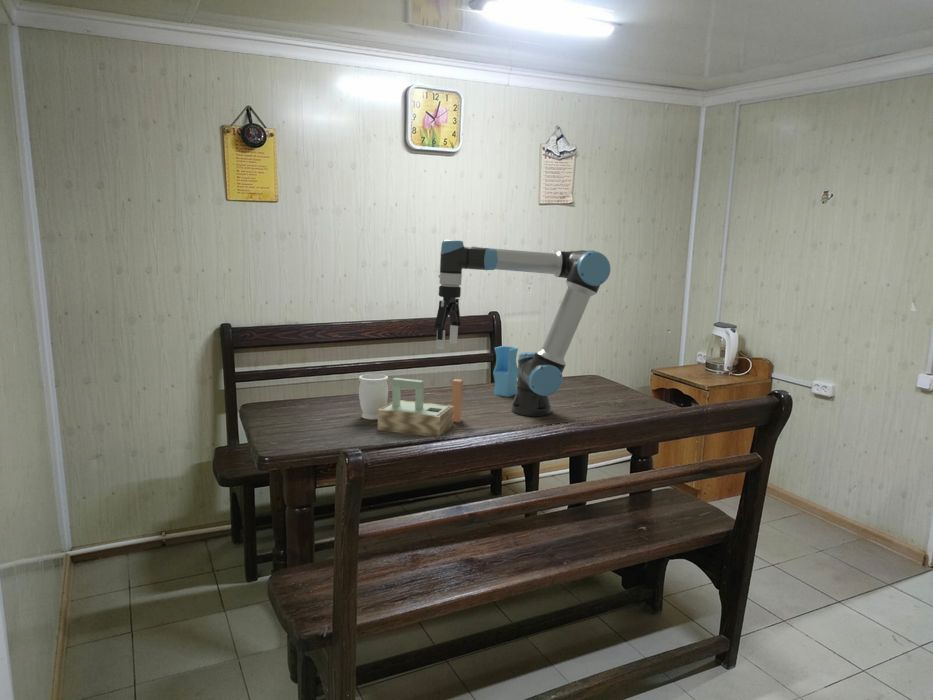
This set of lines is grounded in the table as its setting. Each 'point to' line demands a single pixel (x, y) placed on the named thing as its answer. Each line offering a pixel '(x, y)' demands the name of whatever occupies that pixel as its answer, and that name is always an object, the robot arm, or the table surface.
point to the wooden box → (415, 421)
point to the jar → (372, 394)
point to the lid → (418, 405)
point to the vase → (505, 371)
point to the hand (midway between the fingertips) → (446, 346)
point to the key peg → (457, 399)
